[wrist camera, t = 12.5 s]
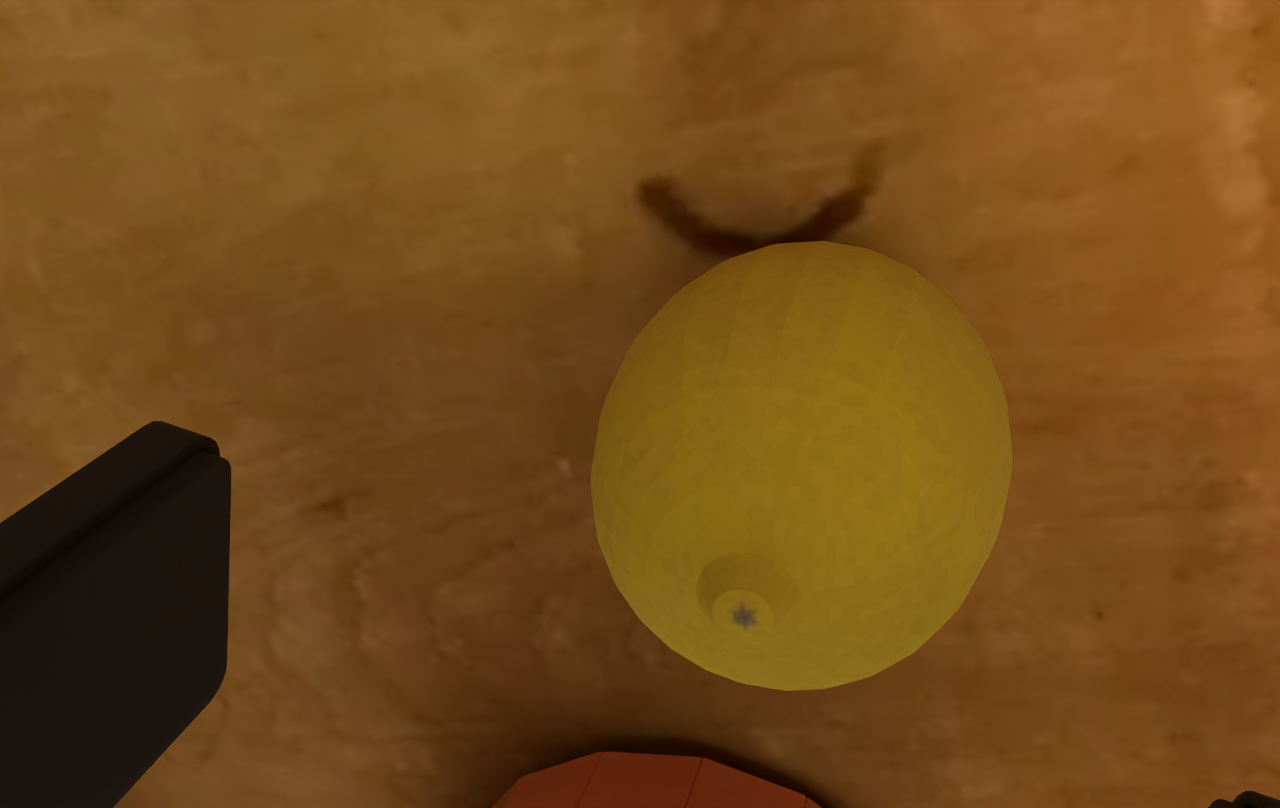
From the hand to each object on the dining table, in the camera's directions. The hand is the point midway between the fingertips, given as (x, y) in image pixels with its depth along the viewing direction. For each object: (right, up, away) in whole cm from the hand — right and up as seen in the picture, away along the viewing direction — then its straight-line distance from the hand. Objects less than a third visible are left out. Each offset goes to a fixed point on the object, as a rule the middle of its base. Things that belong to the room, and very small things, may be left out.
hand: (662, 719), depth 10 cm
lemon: (+3, +4, +9) cm, 10 cm away
